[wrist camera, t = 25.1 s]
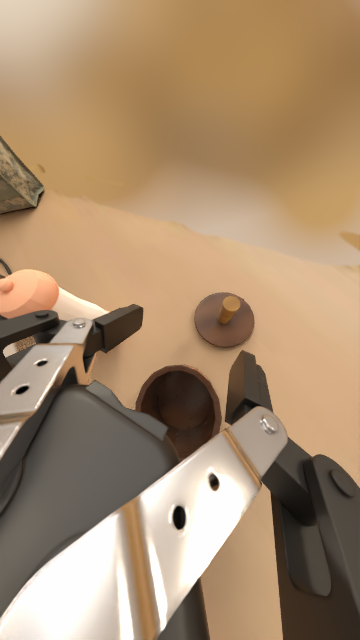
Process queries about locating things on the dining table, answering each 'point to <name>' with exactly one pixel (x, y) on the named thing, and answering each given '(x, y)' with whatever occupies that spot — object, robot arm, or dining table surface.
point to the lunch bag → (16, 182)
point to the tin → (182, 406)
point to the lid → (224, 319)
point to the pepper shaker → (41, 297)
